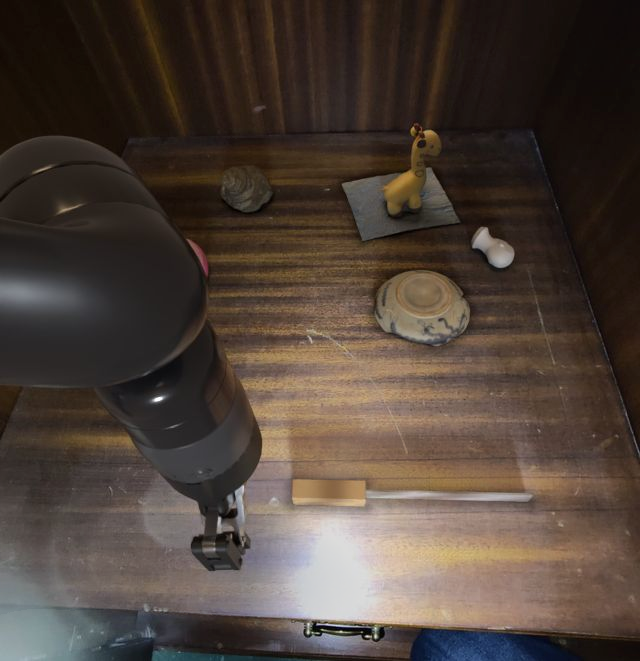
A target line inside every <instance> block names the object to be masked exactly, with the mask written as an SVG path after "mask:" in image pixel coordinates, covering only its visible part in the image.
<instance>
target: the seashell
mask: <svg viewBox="0 0 640 661" xmlns="http://www.w3.org/2000/svg"><path fill="white" fill-rule="evenodd" d="M220 179H221V181H220V182H221V185H220V189H219V191H220V197H221V199H222V200H224V201H225V202H226V204H227V205H229V206H230V207H232V208H233V209H235V210H239V211H240V212H241V213H249V212H250V213H252V212H255V211H258V210H260V208H261V206H262V205H263V204H267V203H268V202H269V201H270V199H271V197H272V196H273V195H274V189H273V186H272V185H271V182H270V179H269V178H268V176H267V174H266V172H265V171H263V170H262V169H261V168H259V167H257V166H256V165H254V164H251V165H250V164H244V165H239V166H231V167H229V168H227V169H226V170H224V171H223V172H222V173H221V177H220Z"/></svg>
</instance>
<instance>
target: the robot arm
mask: <svg viewBox="0 0 640 661" xmlns="http://www.w3.org/2000/svg"><path fill="white" fill-rule="evenodd" d="M187 239H188V238H187V237H186V236H185V235H184V234H183V232H182V231H181V229H180V228H179V227H178V226H177V225H176V223H175V222H174V220H173V219H172V217H171V216H170V214H168V212H167V211H166V209H165V208H164V207H163V205H162V203H161V202H160V201H159V200H158V198H157V197H156V195H155V194H154V193H153V191H152V190H151V188H150V187H149V186H148V184H147V182H145V180H144V179H143V178H142V176H141V175H140V174H139V173H138V172H137V171H136V169H135V168H133V167H132V166H131V165H130V164H129V163H128V162H127V161H125V160H124V158H122V157H121V156H119V155H118V154H116V153H115V152H113V151H112V150H111V149H108V148H106V147H104V146H102V145H100V144H98V143H95V142H92V141H90V140H87V139H83V138H80V137H74V136H69V135H54V134H53V135H43V136H38V137H32V138H30V139H27V140H24V141H22V142H20V143H17V144H15V145H13V146H12V147H10V148H8V149H7V150H5V151H4V152H3V153H2V154H1V155H0V386H11V387H20V388H21V387H23V388H35V389H45V390H46V389H49V390H80V389H81V390H83V389H92V391H93V392H94V394H95V396H96V397H97V399H98V401H99V402H100V404H101V405H102V406H103V407H104V408H105V410H106V411H107V412H108V414H109V415H110V416H111V417H112V418H113V419H114V420H115V421H116V422H117V424H118V425H119V426H120V427H121V428H122V429H123V430H124V431H125V432H126V433H127V434H128V436H129V438H130V440H131V443H132V445H134V447H135V449H136V450H137V451H138V452H139V454H140V455H141V456H142V458H144V459H145V460H146V462H147V463H149V464H150V465H151V466H152V468H153V469H155V471H156V472H157V473H158V474H159V475H160V476H161V477H162V478H163V479H164V480H165V482H167V483H168V484H169V485H170V487H171V488H172V489H174V491H176V492H177V493H179V494H181V495H182V496H184V497H186V498H188V499H191V500H192V501H194V502H197V506H198V510H199V513H200V514H199V515H200V521H201V524H202V526H203V527H204V530H203V533H199V534H198V535H197V536H196V535H195V536H194V535H193V537H192V540H191V542H190V550H191V554H192V556H193V557H194V558H195V559H196V560H197V561H198V562H199V563H200V564H201V565H202V566H203V567H204V568H205V569H206V570H207V571H208V572H216V571H241V570H242V566H243V564H244V560H243V557H242V556H245V555H246V550H250V549H251V546H252V545H251V543H252V539H251V538H250V536H249V535H248V534H247V532H246V531H245V529H244V525H245V523H246V520H247V515H248V505H247V504H248V503H247V496H246V488H247V483H248V481H249V479H251V477H252V476H253V474H254V473H255V471H256V470H257V468H258V465H259V463H260V460H261V458H262V453H263V437H262V432H261V429H260V426H259V423H258V421H257V418H256V415H255V413H254V410H253V408H252V404H251V403H250V400H249V397H248V395H247V392H246V390H245V387H244V386H243V384H242V382H241V380H240V378H239V377H238V376H237V374H236V373H235V372H234V370H233V368H232V366H231V364H230V361H229V358H228V356H227V353H226V351H225V349H224V345H223V343H222V341H221V339H220V337H219V336H218V334H217V332H216V331H215V329H214V327H213V325H212V324H211V322H210V320H208V315H209V314H208V313H209V310H210V301H211V294H210V284H209V280H208V275H207V276H206V273H205V271H204V268H203V266H202V264H201V262H200V260H199V257H198V256H197V254H196V253H195V251H194V250H193V248H192V247H191V245H190V244H189V242H188V241H187ZM234 505H236V507H235V508H233V506H234ZM223 527H232V528H233V530H228V531H225V530H224V531H223Z"/></svg>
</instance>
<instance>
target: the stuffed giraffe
mask: <svg viewBox="0 0 640 661" xmlns="http://www.w3.org/2000/svg"><path fill="white" fill-rule="evenodd" d="M410 135H411V136H412V137H415V139H414V141H413V143H412V147H411V155H410V164H411V168H410V169H409V170H407V171H406V172H395V173H390V174H386V175H385V174H383V175H376V176H372V177H367V178H361V179H357V180H352V181H347V182H343V183H341V186H342V190H343V191H344V193H345V195H346V197H347V201H348V204H349V207H350V209H351V212H352V215H353V218H354V220H355V223H356V226H357V229H358V232H359V235H360V237H361V241H362V242H365V241H369V240H372V239H377V238H381V237H384V236H385V237H386V236H390V235H393V234H398V233H403V232H407V231H412V230H418V229H424V228H430V227H437V226H443V225H444V226H447V225H455V224H461V221H460V219H459V217H458V215H457V214H456V212H455V210H454V207H453V204H452V202H451V201H450V199H449V197H448V195H447V194H446V191H445V190H444V189H443V186H442V185H441V183H440V180H438V178H437V176H436V175H435V173H434V171H433V168H432V167H426V164H425V156H426V155H428V156H431V157H437V156H439V154H440V153H441V152H442V142H441V139H440V137H439V135H438V134H437V133H436V132H435V131H434V130H432V129H426V130H423V127H422V126H421V125H420V124H419V123H414V124H413V126H412V127H411V129H410Z"/></svg>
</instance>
